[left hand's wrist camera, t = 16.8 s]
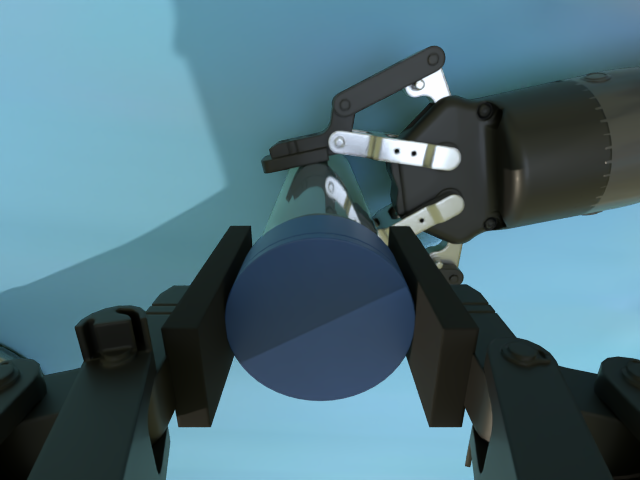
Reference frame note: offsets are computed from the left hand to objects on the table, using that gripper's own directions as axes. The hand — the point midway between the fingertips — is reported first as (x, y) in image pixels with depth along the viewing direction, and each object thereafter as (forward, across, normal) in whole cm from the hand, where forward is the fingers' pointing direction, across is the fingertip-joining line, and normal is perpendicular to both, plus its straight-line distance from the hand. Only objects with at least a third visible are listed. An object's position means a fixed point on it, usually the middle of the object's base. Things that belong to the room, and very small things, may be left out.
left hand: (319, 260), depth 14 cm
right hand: (+9, -2, 0) cm, 9 cm away
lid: (-4, 0, 0) cm, 4 cm away
